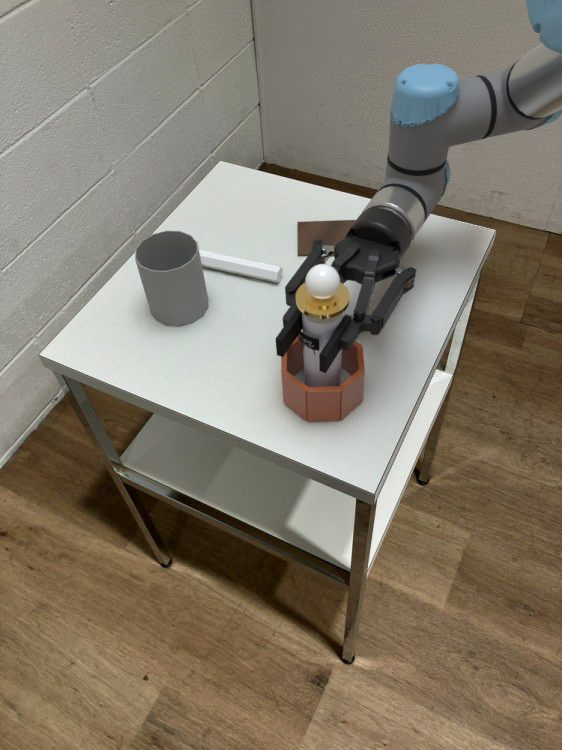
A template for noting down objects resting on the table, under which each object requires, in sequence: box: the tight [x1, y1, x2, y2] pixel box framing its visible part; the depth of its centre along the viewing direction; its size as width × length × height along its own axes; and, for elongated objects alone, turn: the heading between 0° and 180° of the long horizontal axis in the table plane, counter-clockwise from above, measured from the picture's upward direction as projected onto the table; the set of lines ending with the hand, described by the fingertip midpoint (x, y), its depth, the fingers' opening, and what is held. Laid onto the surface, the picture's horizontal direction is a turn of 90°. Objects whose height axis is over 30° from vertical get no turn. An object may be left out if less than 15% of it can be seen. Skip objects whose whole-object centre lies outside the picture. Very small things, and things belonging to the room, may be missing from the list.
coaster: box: [297, 219, 357, 257], centre depth 99 cm, size 10×8×1 cm
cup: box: [134, 230, 209, 327], centre depth 87 cm, size 8×8×10 cm
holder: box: [280, 335, 366, 423], centre depth 78 cm, size 10×10×6 cm
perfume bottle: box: [296, 263, 351, 387], centre depth 72 cm, size 6×6×20 cm
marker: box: [199, 249, 283, 284], centre depth 95 cm, size 3×2×16 cm
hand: (300, 355), depth 68 cm, fingers closed on perfume bottle, 4 cm apart
